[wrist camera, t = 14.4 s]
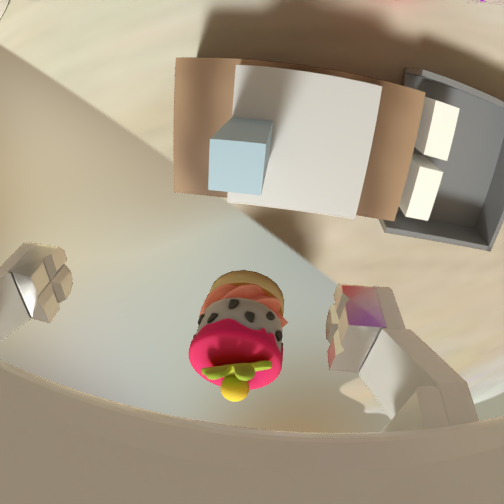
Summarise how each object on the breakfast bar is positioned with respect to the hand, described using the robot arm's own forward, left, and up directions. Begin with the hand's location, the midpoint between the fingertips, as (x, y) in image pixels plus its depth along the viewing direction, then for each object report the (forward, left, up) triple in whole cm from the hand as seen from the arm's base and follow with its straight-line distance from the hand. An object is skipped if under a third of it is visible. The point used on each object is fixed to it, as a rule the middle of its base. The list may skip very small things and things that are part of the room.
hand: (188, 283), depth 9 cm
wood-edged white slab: (+3, 0, -25) cm, 25 cm away
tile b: (+14, -3, -22) cm, 26 cm away
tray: (+20, 0, -25) cm, 32 cm away
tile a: (+14, +3, -22) cm, 26 cm away
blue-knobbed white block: (+4, 0, -19) cm, 19 cm away
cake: (0, -23, -25) cm, 34 cm away
